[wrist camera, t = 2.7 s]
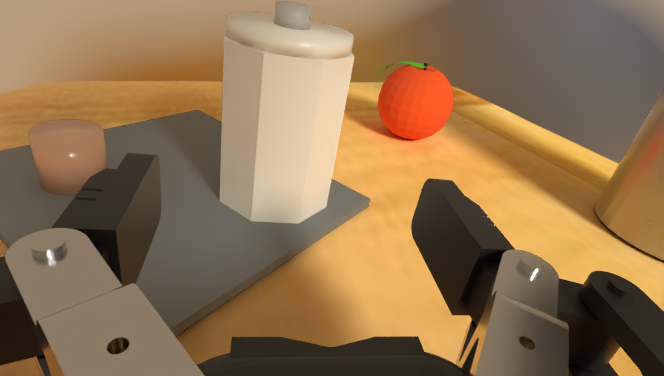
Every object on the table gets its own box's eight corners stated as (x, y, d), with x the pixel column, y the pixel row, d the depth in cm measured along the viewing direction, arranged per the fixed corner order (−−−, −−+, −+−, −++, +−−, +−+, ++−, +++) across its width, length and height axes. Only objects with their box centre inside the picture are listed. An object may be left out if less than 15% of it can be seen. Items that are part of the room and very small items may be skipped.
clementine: (348, 128, 39) (363, 53, 35) (381, 114, 44) (397, 47, 40) (424, 159, 35) (449, 79, 32) (450, 139, 41) (474, 69, 37)
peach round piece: (91, 160, 25) (84, 115, 24) (121, 182, 24) (115, 135, 22) (28, 176, 23) (16, 127, 21) (57, 202, 21) (46, 151, 20)
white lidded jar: (272, 159, 29) (289, -6, 24) (343, 197, 26) (381, 18, 21) (199, 187, 24) (198, -12, 19) (275, 237, 22) (300, 19, 16)
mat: (197, 116, 35) (197, 109, 35) (368, 206, 27) (370, 198, 27) (-58, 173, 22) (-61, 163, 22) (119, 374, 14) (117, 363, 14)
